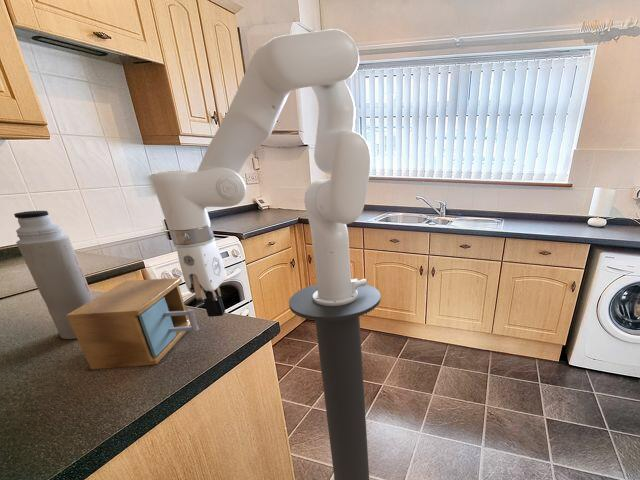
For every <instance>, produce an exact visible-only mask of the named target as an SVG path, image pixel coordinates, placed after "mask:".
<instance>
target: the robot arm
mask: <svg viewBox="0 0 640 480" xmlns="http://www.w3.org/2000/svg"><path fill="white" fill-rule="evenodd" d="M359 64H360V52H359V49H358V46H357V44H356V42H355V40H354V39H353V38H352V37H351V35H350V34H349V33H348V32H346V31H344V30H341V29H338V28H330V29H322V30H315V31H307V32H300V33H290V34H283V35H279V36H275V37H273V38H271V39H270V40H268V41H267V42H265V43H264V44H262V45H261V46H259V47H258V48H257V49H256V50H255V52H254V53H253V55H252V56H251V59H250V61H249V63H248V66H247V67H246V70H245V72H244V74H243V77H242V79H241V81H240V84H239V85H238V88H237V90H236V92H235V94H234V97H233V98H232V101H231V103H230V105H229V108H228V109H227V112H226V114H225V115H224V116H223V118H222V119H221V120H222V121H221V122H220V125H219V127H218V128H217V129H216V132H215V134H214V135H213V137H212V139H211V141H210V143H209V144H208V147H207V148H206V150H205V152H204V155H203V157H202V158H201V159H202V160H201V161H200V164H199V166H198V168H197V170H196V171H191V170H167V171H160V172H157V173H155V174H153V175H152V184H153V188H154V190H155V193H156V196H157V199H158V202H159V205H160V208H161V210H162V211H161V212H162V214H163V217H164V220H165V223H166V225H167V229H168V233H169V235H170V238H171V241H172V244H173V247H176V253H177V257H178V261H179V266H180V270H181V273H182V277H183V280H184V283H185V286H186V289H187V290H188V292H189V293H191V294H194V296H195V300H196V301H201V302H203V304H204V307H205V311H206V314H207V316H208V317H209V318H210V317H211V318H212V317H222V316H224V314H225V313H226V309H225V306H224V303H223V298H222V297H221V296H222V292H221V288H220V286H221V284H222V283H224V281H225V280H226V279H227V277H228V274H227V273H228V272H227V270H226V267H225V263H224V259H223V257H222V255H221V252H220V249H219V245H218V244H217V242H216V238H215V234H214V230H213V227H212V224H211V220H210V215H209V212H208V208H227V207H228V208H231V207H234V206H236V205H238V204H240V203H242V202H243V200H244V199H245V197H246V193H247V187H246V182H245V180H244V179H243V178H242V176H241V175H240V173H241V170H242V168H243V166H244V164H245V163H246V162H247V160H248V158H249V157H250V156H251V155H252V154H253V153H254V152H255V151H256V150H257V149H259V148H260V147H261V146H262V145H264V143H266V141H267V140H268V139H269V138H270V137H271V135H272V133H273V130H274V128H275V126H276V123H277V122H278V119H279V117H280V115H281V113H282V110H283V108H284V106H285V104H286V102H287V99H288V97H289V95H290V94H291V92H292V91H295V90H298V89H303V88H310V87H311V89H312V91H313V92H314V94H315V97H316V99H317V103H318V117H317V119H318V120H317V126H316V136H315V145H314V151H313V152H314V153H313V155H314V156H313V158H314V162H315V164H316V167H317V168H318V169H319V170H320V171H321V172H323V173H325V174H327V175H330V178H329V179H325V178H324V179H317V180H315V181H312V182H311V183H310V184H309V185H308V186H307V188H306V190H305V192H304V198H303V201H304V207H305V208H304V209H305V212H306V215H307V216H306V217H307V219H308V224H309V228H310V235H311V243H312V252H313V253H312V254H313V261H314V271H315V279H316V280H315V281H316V284H317V289H318V290H317V291H316V292H315V293H314V294H313V301H314V302H315V303H317V304H320V305H324V306H339V305H345V304H348V303H351V302H353V301H354V300H356V299H357V297H358V292H357V290H356V289H357V288H358V287H360V286H365V285H368V282H367V279H366V278H362V279H358V278H357V277H356V278H353V279H352V269H351V255H350V239H349V237H350V236H349V230H348V226H347V225H348V224H352V223H354V222H356V221H357V220H358V219H359V218H360V217H361V215H362V213H363V211H364V208H365V204H366V199H367V194H368V192H367V191H368V187H369V180H370V173H371V167H372V166H371V165H372V154H371V149H370V146H369V142H368V141H367V140H366V138H365V137H364V136H363V135H362V134H360V133H358V132H357V131H355V121H356V106H355V105H356V104H355V100H354V97H353V95H352V93H351V90H350V88H349V86H348V85H347V83H346V81H347V80H349V79H351V78H352V77H353V76H354V75H355V73H356V72H357V70H358V68H359Z"/></svg>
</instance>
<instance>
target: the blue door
mask: <svg viewBox="0 0 640 480" xmlns="http://www.w3.org/2000/svg"><path fill="white" fill-rule="evenodd" d="M181 315H188V319H189V320H190V324H191V326H184V327H174V326H173V323H172V320H171V316H181ZM138 316H139V319H140V322H141V325H142V327H143V330H144V333H145V336H146V339H147V341H148V344H149V347H150V350H151V352H152V355H153V357H156V356H157V355H158V354H159V353H160V352H161V351H162V350H163V349H164V348H165V347H166V346H167V345H168V344H169V343H170V342H171V341H172V339H173V338H174V337H175V336H176V332H180V331H186V332H193V333H195V332H199V331H200V328H199V325H198V322H197V317H196V314H195V311H194V309H193V308H189V309H186V311H171V312H169V310H168V307H167V304H166V301H165V297H162V298H161V299H160V300H158V301H157V302H156V303H154V304H153V305H152V306H150V307H149V308H148V309H147V310H145V311H144V312H143V313H141V314H140V315H138Z"/></svg>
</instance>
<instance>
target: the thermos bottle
mask: <svg viewBox="0 0 640 480" xmlns="http://www.w3.org/2000/svg"><path fill="white" fill-rule="evenodd" d="M13 214H14V217H15V218H16V219H17V223H18V225H19V228H17V229H16V230H15V232H16V234H17V235H16V237H17V238H19V240H17V241H16V242H15V243H16V245H17V247H18V250H19V252H20V254H21V256H22V258H23V260H24V262H25V264H26V267H27V268H28V270H29V272H30V273H29V274H30V275H31V277H32V279H33V281H34V283H35V286H36V287H37V290H38V292H39V294H40V296H41V297H42V300H43V301H44V303H45V306H46V309H47V310H48V312H49V315H50V317H51V319H52V322H53V323H54V325H55V327H56V330H57V331H58V334H59V336H60V338H62V339H64V340H72V339H77V337H76V335H75V333H74V331H73V329H72V326H71V324H70V322H69V320H68V318H67V314H69V313H71V312H72V311H74V310H76V309H78V308H79V307H81V306H83V305H84V304H86V303H88V302H90V301H91V300H93V299H95V298H94V296H93V293H92V291H91V289H90V286H89V284H88V282H87V279H86V276H85V274H84V271H83V269H82V267H81V263H80V261H79V259H78V256H77V254H76V252H75V249H74V247H73V244H72V242H71V239H70V237H69V235H67V234H64V232H63V229H62V228H61V226H60V225H58V224H55V223H53V221H52V218H51V217H50V216H49V212H48V211H47V210H28V211H21V212H16V213H13Z"/></svg>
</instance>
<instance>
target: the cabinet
mask: <svg viewBox="0 0 640 480" xmlns="http://www.w3.org/2000/svg"><path fill="white" fill-rule="evenodd" d="M182 283H183V279H182V277H176V278H173V277H171V278H155V279H154V278H153V279H135V280H134V279H133V280H124V281H122V282H121V283H120V284H117V285H115V286H114V287H112V288H110V289H109V290H107V291H105V292H104V293H101V294H100V295H99V296H97V297H95V298H94V299H93V300H91V301H90V302H88V303H86V304H84V305H83V306H81V307H79V308H78V309H76V310H74V311H72V312H71V313H69V314H67V318H68V320H69V322H70V324H71V326H72V329H73V331H74V333H75V335H76V337H77V338H76V340H77V342H78V344H79V346H80V348H81V351H82V353H83V355H84V358H85V359H86V362H87V363H88V366H89V368H90V370H100V369H112V368H127V367H137V366H138V367H140V366H153V365H154V366H155V365H158V364H159V362H160V361H161V360H162V359H163V358H164V357H165V356H166V354H168V352H169V351H170V350H171V349H172V348H174V346H175V345H176V344H177V342H178V341H179V340H181V338H182V337H183V336H184V335H185V334H186V333H187V331H180V332H176V336H175V337H174V338H173V339H172V341H171V342H170V343H169V344H168V345H167V346H166V347H165V348H164V349H163V350H162V351H161V352H160V353H159V354H158V355H157V356H156V357H153V355H152V352H151V350H150V347H149V344H148V341H147V339H146V336H145V333H144V330H143V327H142V325H141V322H140V319H139V316H138V315H140V314H141V313H143V312H144V311H145V310H147V309H148V308H149V307H150V306H152V305H153V304H154V303H156V302H157V301H158V300H160V299H161V298H162V297H165V301H166V304H167V307H168V310H169V312H171V311H187V308H186V306H185V302H184V298H183V294H182V292H181V288H180V284H182ZM171 320H172V323H173V326H174V327H184V326H191V324H190V320H189V317H188V315H181V316H171Z"/></svg>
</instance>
